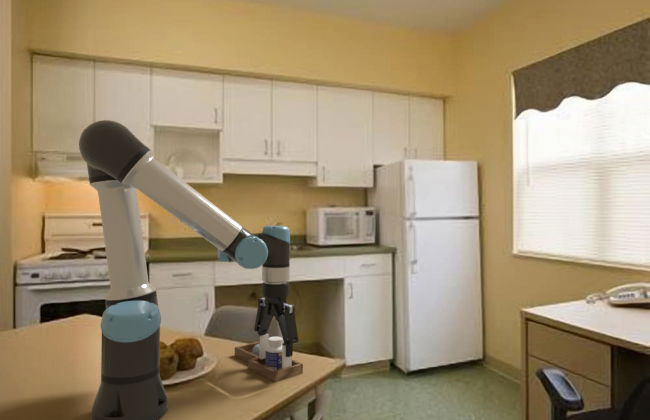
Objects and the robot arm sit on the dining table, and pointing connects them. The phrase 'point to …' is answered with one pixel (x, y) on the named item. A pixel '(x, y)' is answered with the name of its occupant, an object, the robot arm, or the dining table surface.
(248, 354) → the cradle
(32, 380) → the dining table surface
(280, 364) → the pill bottle
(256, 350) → the ball
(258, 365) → the cradle
